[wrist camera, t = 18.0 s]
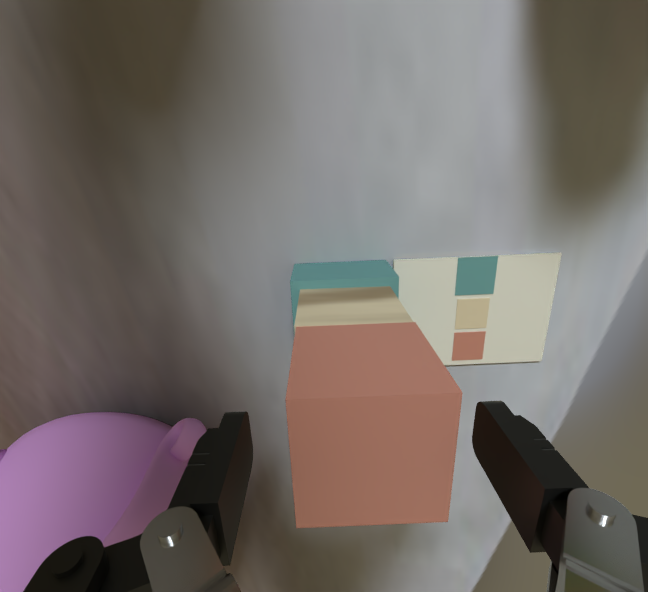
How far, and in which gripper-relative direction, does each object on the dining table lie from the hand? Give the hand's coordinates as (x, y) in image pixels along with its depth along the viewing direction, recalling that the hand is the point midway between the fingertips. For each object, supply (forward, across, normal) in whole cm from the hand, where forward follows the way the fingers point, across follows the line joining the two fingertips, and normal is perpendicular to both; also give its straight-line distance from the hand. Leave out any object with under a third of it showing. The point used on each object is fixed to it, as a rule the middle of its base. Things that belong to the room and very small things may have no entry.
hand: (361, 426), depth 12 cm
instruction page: (+12, -9, +1) cm, 15 cm away
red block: (+3, 0, 0) cm, 3 cm away
